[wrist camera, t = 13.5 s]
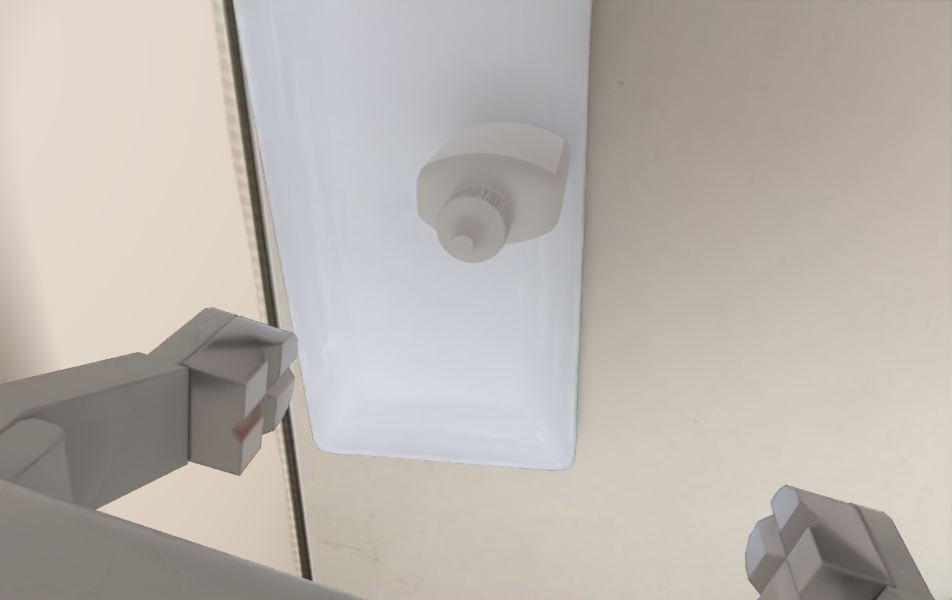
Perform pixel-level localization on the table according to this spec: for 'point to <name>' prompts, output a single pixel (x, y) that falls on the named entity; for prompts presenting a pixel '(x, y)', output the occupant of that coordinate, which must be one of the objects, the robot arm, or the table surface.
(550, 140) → the eye dropper bottle
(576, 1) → the tray
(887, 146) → the table surface
